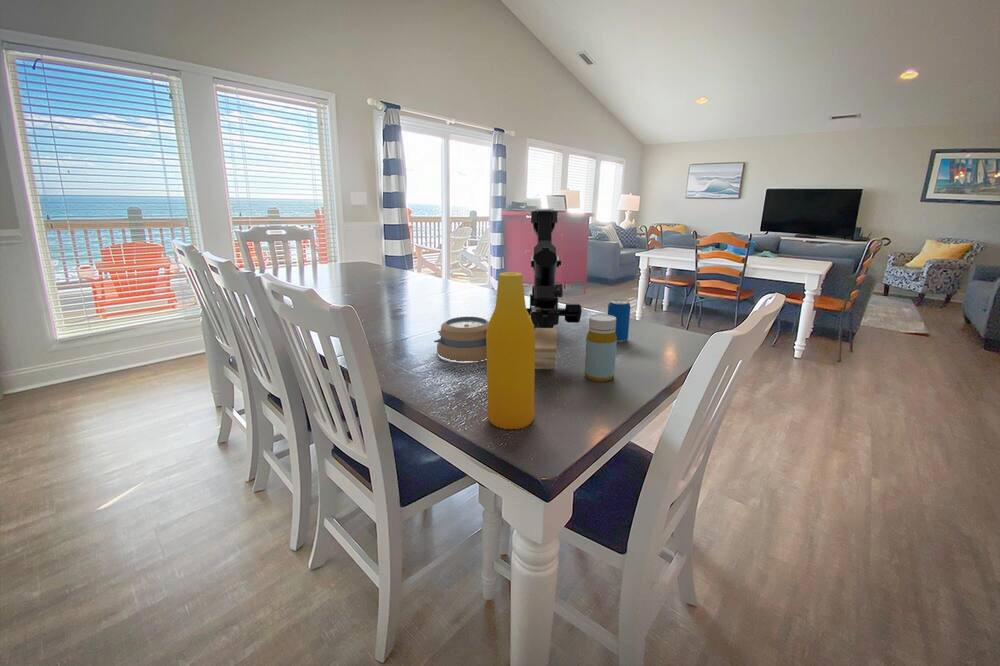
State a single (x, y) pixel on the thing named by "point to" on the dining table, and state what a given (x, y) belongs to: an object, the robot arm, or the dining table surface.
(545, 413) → the dining table surface
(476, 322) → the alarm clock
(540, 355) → the block
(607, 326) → the bottle
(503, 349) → the beer bottle
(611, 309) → the beverage can
